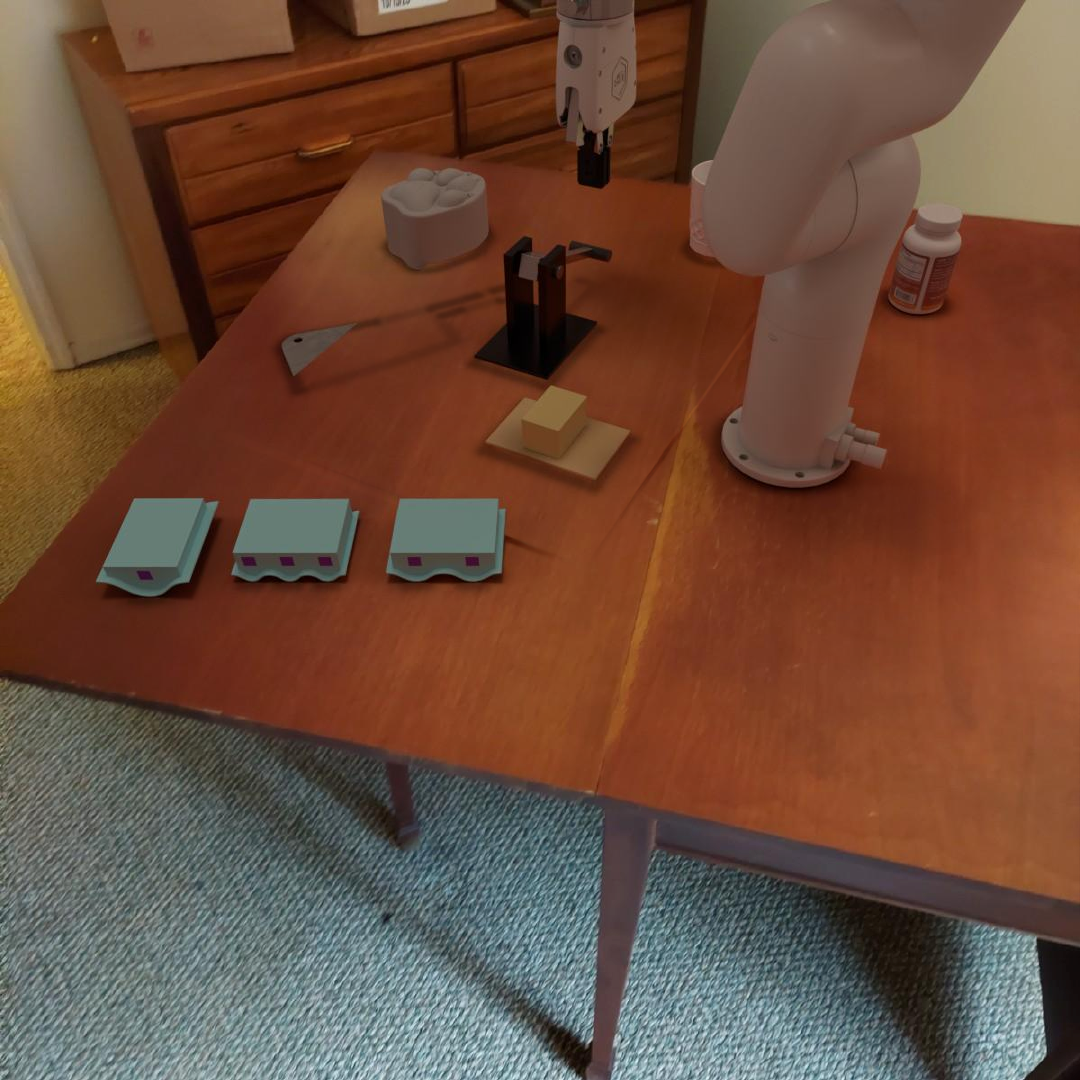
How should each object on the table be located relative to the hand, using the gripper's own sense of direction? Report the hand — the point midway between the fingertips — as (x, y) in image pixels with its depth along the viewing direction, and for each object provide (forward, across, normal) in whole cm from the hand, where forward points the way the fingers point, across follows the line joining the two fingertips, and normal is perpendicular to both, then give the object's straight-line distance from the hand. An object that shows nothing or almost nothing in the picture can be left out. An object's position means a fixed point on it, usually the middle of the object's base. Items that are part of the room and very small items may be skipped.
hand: (593, 183), depth 105 cm
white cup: (+14, +16, -9) cm, 23 cm away
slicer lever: (+7, -7, +1) cm, 10 cm away
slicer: (+14, -13, +1) cm, 19 cm away
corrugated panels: (+14, -50, +3) cm, 52 cm away
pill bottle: (+14, +15, -34) cm, 40 cm away
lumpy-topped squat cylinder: (+13, +2, +23) cm, 26 cm away
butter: (+13, -27, -9) cm, 31 cm away
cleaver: (+14, -17, +15) cm, 26 cm away
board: (+14, -27, -9) cm, 32 cm away
